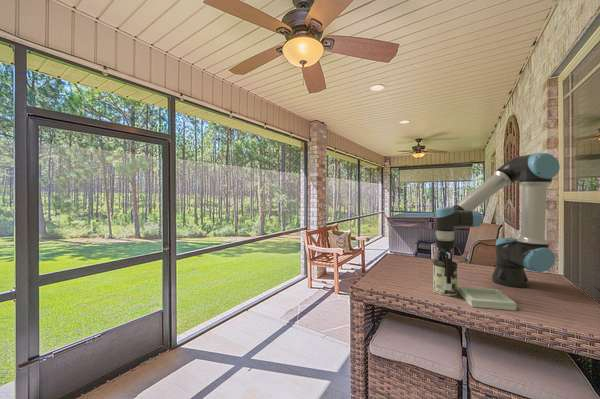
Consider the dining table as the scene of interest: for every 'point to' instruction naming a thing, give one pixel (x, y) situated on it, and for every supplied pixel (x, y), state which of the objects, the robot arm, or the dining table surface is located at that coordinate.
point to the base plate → (487, 298)
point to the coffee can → (443, 278)
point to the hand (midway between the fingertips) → (444, 286)
